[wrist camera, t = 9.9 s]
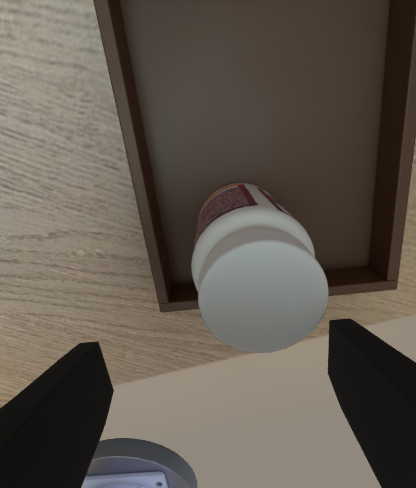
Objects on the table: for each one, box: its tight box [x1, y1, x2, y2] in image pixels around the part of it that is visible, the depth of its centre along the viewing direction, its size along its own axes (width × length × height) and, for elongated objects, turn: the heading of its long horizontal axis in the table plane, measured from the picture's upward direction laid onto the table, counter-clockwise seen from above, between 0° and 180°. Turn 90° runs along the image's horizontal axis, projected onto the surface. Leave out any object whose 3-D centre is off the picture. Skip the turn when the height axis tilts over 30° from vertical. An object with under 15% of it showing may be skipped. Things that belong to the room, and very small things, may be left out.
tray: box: [93, 0, 416, 312], centre depth 15 cm, size 16×13×3 cm
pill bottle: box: [191, 183, 328, 353], centre depth 13 cm, size 5×5×8 cm
